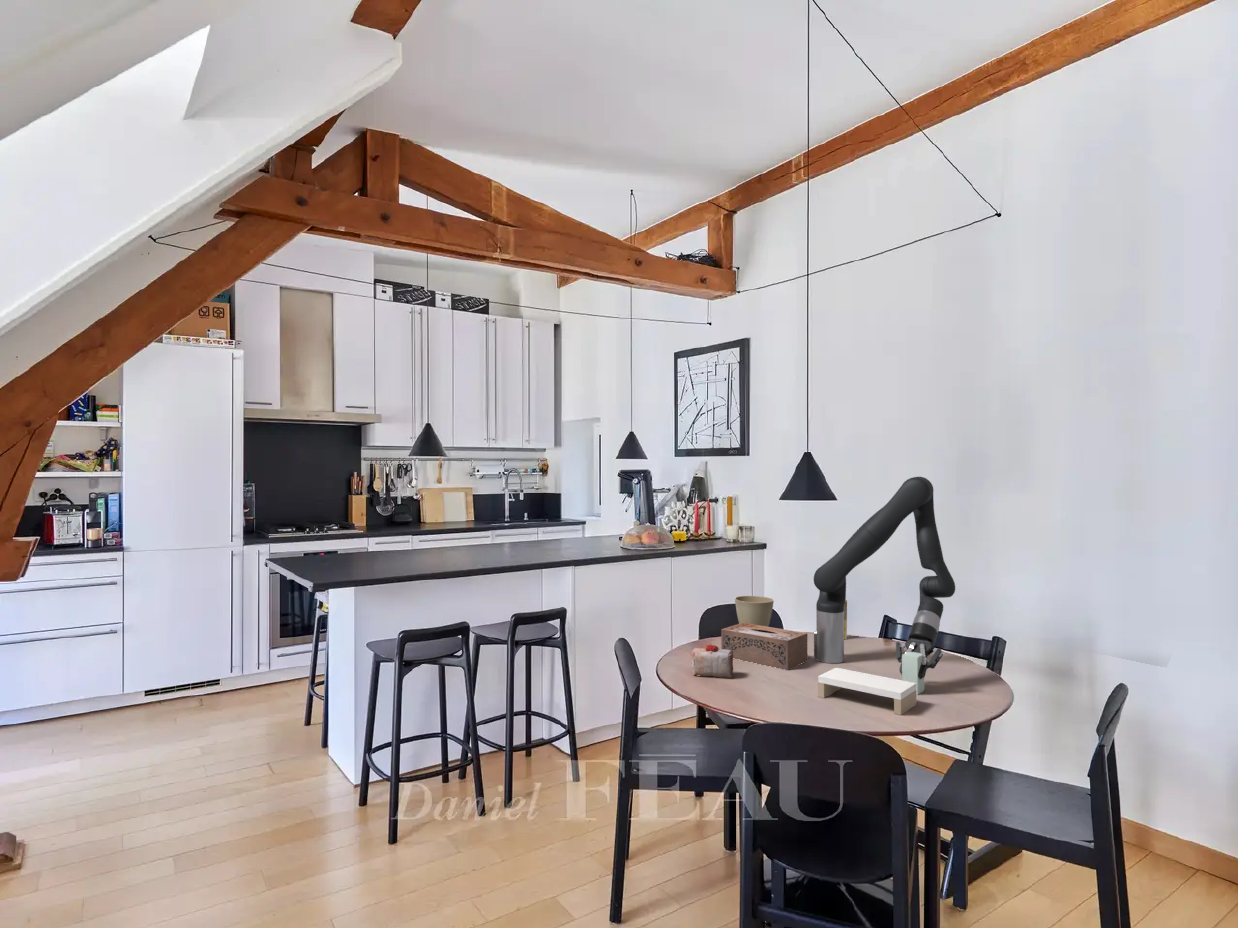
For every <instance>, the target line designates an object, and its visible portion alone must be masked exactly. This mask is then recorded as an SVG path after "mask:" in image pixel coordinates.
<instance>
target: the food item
mask: <svg viewBox="0 0 1238 928" xmlns="http://www.w3.org/2000/svg"><path fill="white" fill-rule="evenodd" d="M690 654H691V671H692V672H691V673H692V675H700V676H699V677H708V676H713V677H712V678H720V677H723V678H722V679H733V675H734V664H733V662H734V661H733V660H734V659H733V651H732V650H726V649H721V648H719V647H718V646H717V645H715V643H712V644H707V645H706V647H705V648H704V647H703V648H702V647H695V648H693V649H692V651H691V652H690Z"/></svg>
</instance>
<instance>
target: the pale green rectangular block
mask: <svg viewBox="0 0 1238 928" xmlns="http://www.w3.org/2000/svg"><path fill="white" fill-rule="evenodd" d="M922 656H923V654H921V653H916V652H907V653H905V652H904V653H902V675H901V680H902V681H908V682H913V683H916V696H917V695H919V694H921V693H923V692H924V691H925V677H924V678H922V679H919V677H918V673H919V669H920V666H921V665H922Z"/></svg>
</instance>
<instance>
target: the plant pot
mask: <svg viewBox="0 0 1238 928" xmlns="http://www.w3.org/2000/svg"><path fill="white" fill-rule="evenodd" d="M774 601H775V600H774V598H772V597H768V596H767V597H766V596H760V595H759V596H758V595H740V596H735V597H734V603H735V610H736V616H737V621H738V624H740V623H748V624H754V625H760V626H766V627H770V626H769V625H770V622H771V619H772V614H773V607H774Z"/></svg>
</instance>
